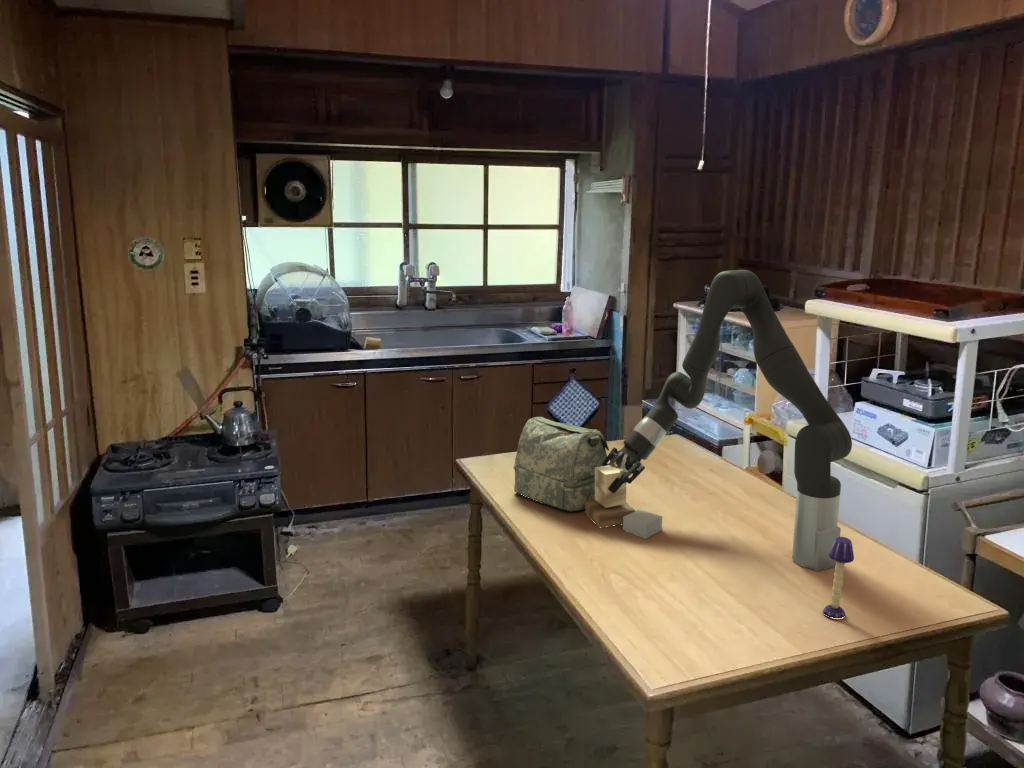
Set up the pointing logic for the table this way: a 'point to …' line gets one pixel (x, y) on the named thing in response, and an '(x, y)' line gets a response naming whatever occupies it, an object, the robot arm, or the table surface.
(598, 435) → the lunch bag
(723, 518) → the table surface
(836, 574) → the toy lamp
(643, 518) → the grey block
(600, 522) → the walnut block
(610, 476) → the oak block
